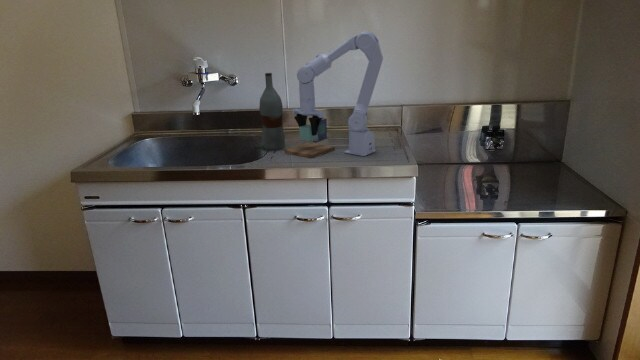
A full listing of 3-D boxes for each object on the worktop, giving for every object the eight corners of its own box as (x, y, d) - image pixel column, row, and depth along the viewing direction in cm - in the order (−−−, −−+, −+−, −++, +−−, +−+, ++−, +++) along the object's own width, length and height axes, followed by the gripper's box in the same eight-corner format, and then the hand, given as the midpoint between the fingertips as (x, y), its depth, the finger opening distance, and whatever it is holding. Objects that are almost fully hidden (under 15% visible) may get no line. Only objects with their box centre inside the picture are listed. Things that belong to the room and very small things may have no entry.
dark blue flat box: (316, 142, 187) (315, 117, 184) (311, 141, 189) (309, 117, 185) (328, 137, 194) (327, 113, 191) (323, 137, 196) (322, 113, 192)
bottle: (260, 150, 178) (254, 74, 168) (264, 144, 187) (258, 72, 177) (283, 150, 177) (278, 73, 168) (286, 144, 186) (281, 71, 176)
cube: (317, 138, 172) (317, 125, 171) (309, 141, 168) (308, 128, 167) (307, 136, 175) (307, 124, 174) (299, 139, 171) (298, 127, 170)
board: (334, 149, 174) (334, 146, 174) (311, 158, 164) (311, 154, 164) (308, 145, 183) (308, 142, 183) (284, 153, 173) (284, 149, 173)
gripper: (286, 99, 169) (288, 134, 173) (314, 102, 160) (316, 138, 164) (298, 96, 174) (300, 130, 178) (327, 99, 165) (328, 134, 169)
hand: (308, 134), depth 171 cm, fingers closed on cube, 5 cm apart
